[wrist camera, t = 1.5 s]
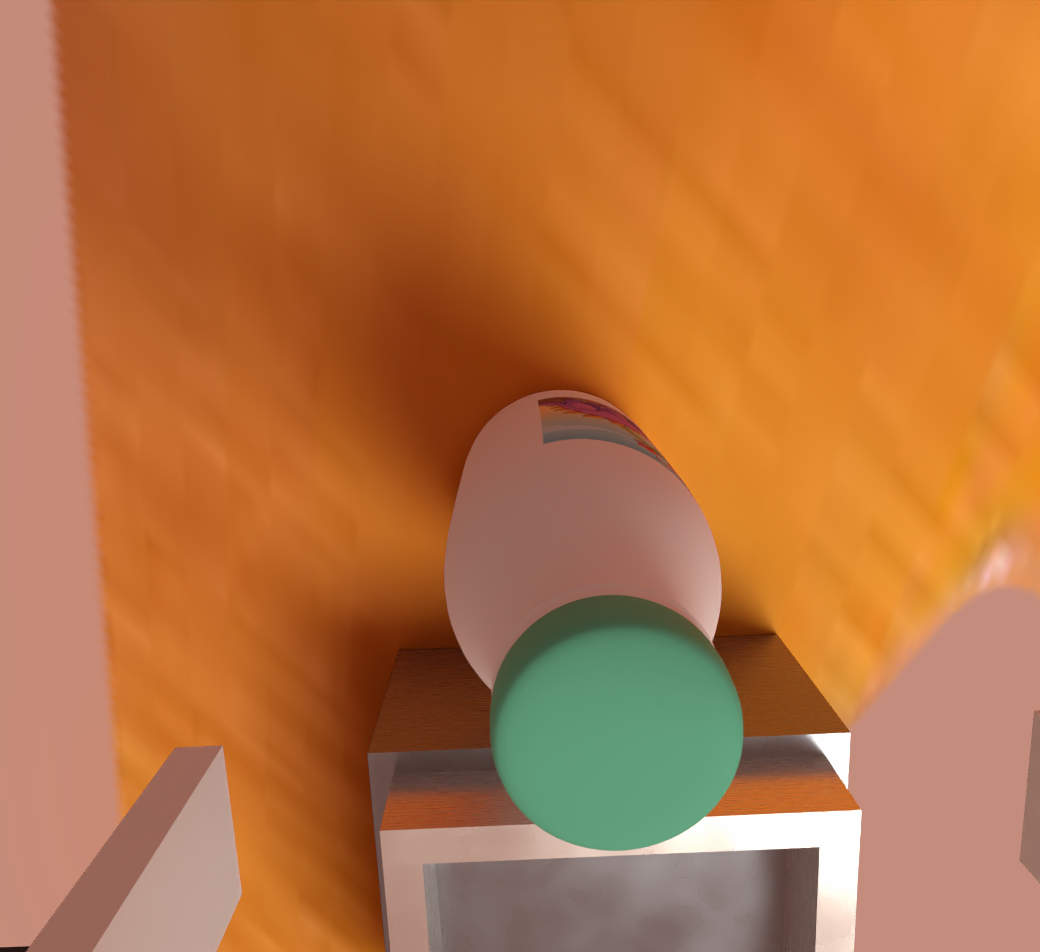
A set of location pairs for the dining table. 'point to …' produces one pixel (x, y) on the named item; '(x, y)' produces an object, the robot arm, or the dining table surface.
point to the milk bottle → (592, 624)
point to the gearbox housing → (613, 874)
